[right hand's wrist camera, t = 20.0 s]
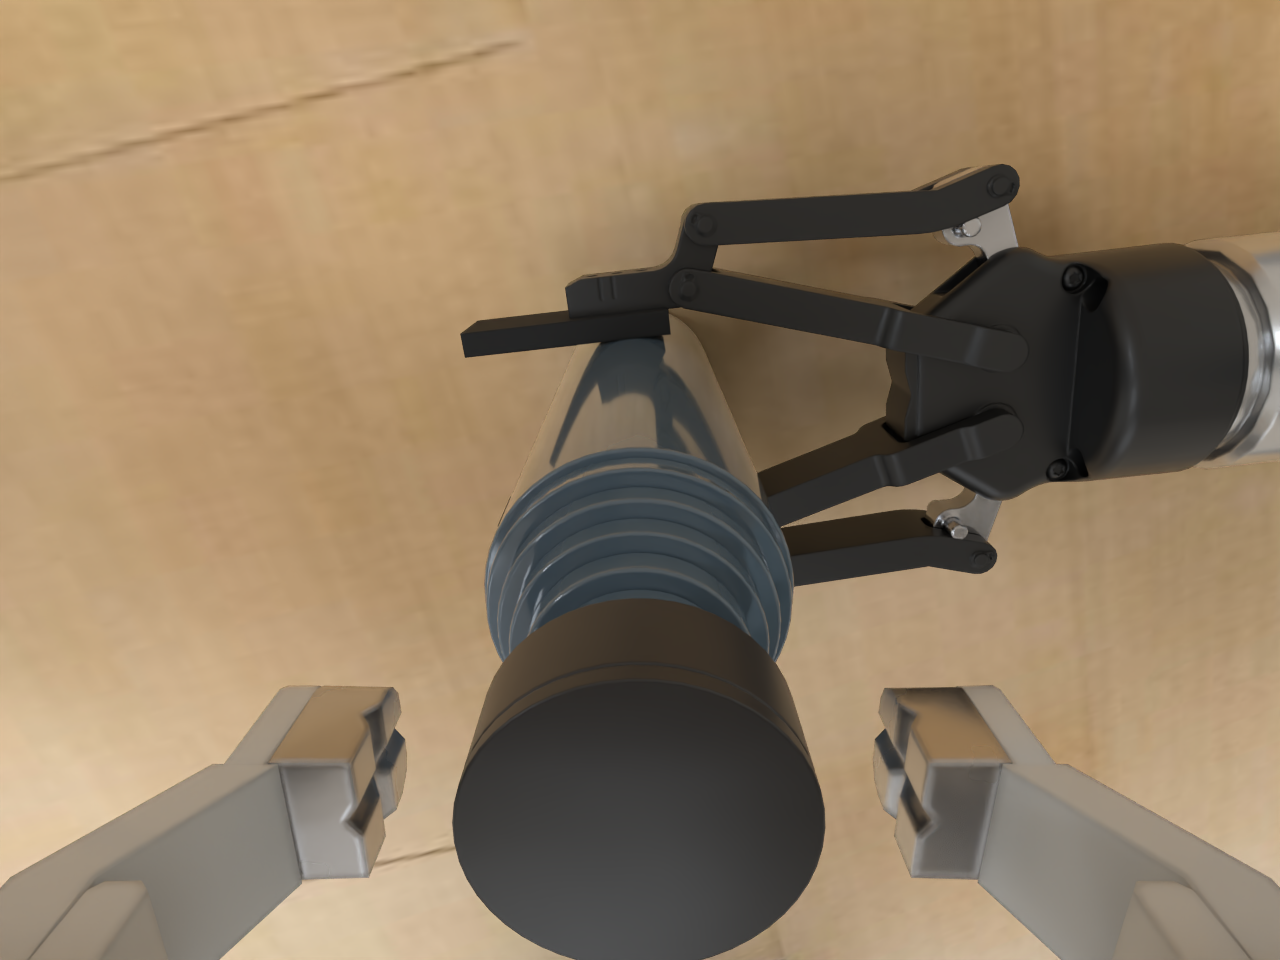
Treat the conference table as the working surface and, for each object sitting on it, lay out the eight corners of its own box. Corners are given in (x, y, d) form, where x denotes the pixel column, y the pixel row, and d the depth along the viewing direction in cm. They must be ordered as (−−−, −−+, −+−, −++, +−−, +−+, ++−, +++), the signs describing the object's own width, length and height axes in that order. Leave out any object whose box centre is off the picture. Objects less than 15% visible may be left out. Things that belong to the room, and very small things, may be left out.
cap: (423, 670, 10) (379, 764, 8) (721, 545, 9) (739, 620, 8) (571, 890, 11) (558, 1009, 10) (840, 793, 11) (877, 903, 9)
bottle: (737, 384, 32) (968, 820, 9) (633, 469, 33) (618, 1030, 11) (646, 276, 30) (665, 491, 8) (540, 370, 31) (301, 784, 9)
